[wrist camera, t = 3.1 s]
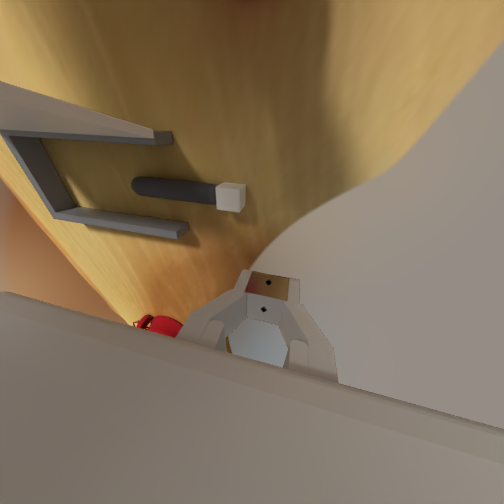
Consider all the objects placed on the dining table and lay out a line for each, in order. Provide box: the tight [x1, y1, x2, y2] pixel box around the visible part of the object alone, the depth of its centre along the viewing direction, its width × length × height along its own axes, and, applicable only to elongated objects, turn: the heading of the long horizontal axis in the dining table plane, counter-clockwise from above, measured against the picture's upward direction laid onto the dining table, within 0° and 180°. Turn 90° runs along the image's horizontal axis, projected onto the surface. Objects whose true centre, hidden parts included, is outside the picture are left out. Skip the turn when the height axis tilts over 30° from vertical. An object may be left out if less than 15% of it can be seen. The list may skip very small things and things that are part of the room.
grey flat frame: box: [0, 129, 189, 239], centre depth 24 cm, size 12×22×3 cm, turn 87°
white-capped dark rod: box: [131, 177, 246, 213], centre depth 22 cm, size 15×3×3 cm, turn 87°
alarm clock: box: [133, 315, 183, 338], centre depth 44 cm, size 10×6×15 cm
